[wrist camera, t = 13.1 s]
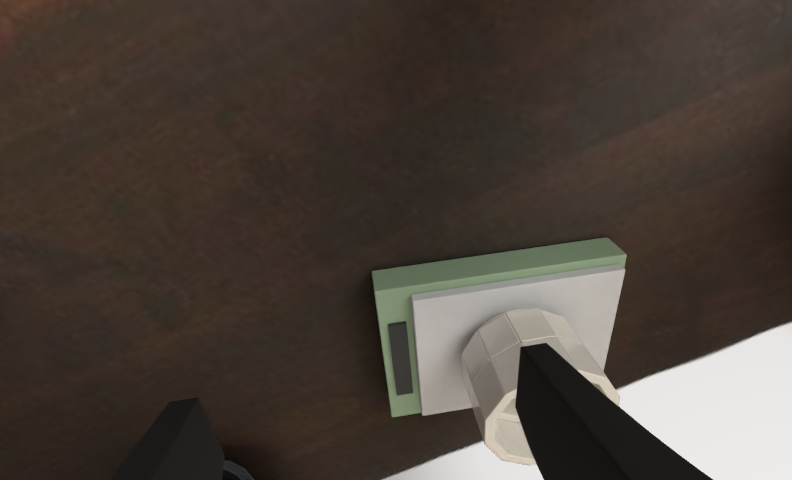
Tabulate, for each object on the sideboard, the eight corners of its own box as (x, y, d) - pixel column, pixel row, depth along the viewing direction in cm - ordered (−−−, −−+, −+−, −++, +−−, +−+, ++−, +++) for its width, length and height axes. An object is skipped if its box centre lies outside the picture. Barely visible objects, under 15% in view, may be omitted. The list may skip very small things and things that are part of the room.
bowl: (459, 395, 21) (483, 474, 18) (457, 311, 18) (486, 385, 15) (562, 377, 21) (607, 452, 18) (575, 293, 19) (630, 361, 15)
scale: (388, 392, 23) (392, 426, 22) (371, 270, 19) (375, 299, 17) (584, 360, 24) (604, 391, 22) (607, 236, 20) (634, 260, 18)
